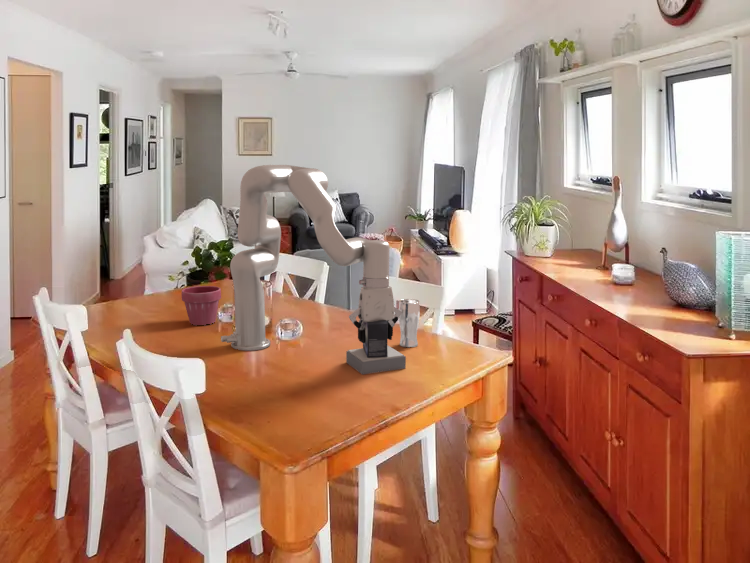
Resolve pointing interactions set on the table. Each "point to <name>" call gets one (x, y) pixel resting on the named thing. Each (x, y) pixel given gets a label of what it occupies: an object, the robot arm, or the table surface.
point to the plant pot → (201, 303)
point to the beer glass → (409, 322)
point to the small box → (376, 339)
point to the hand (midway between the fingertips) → (375, 340)
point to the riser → (375, 361)
